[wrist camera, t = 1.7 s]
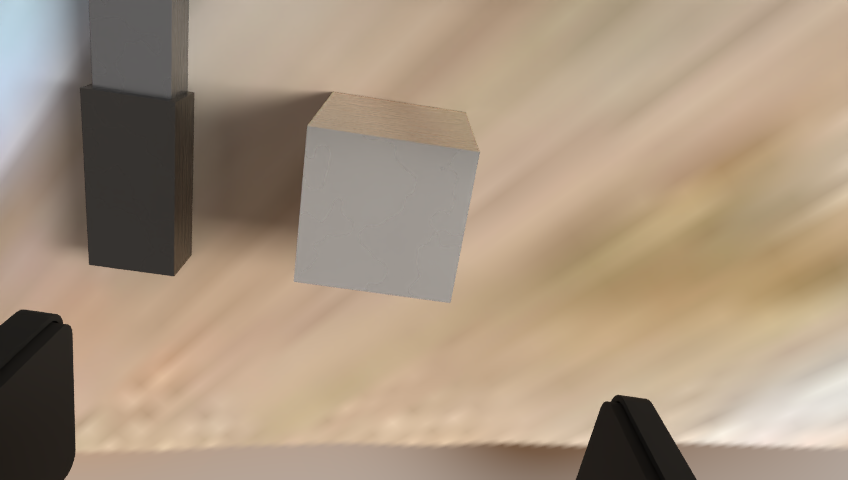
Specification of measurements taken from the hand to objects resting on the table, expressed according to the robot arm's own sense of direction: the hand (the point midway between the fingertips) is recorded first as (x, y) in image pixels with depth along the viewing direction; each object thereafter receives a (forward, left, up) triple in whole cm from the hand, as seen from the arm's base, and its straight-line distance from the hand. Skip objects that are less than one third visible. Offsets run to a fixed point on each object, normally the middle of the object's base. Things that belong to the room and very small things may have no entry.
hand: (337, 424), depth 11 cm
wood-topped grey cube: (0, +1, -19) cm, 19 cm away
